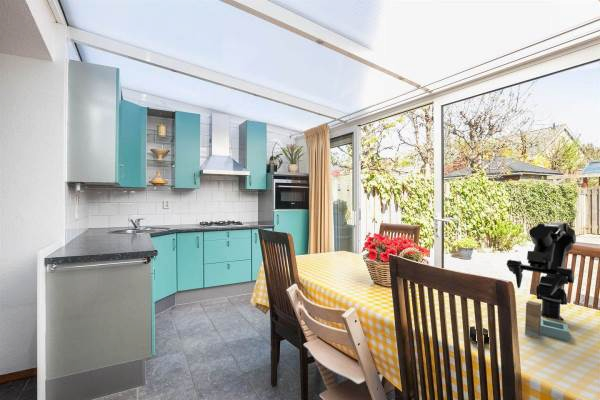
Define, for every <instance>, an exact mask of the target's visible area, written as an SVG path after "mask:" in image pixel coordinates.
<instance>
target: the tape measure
mask: <svg viewBox="0 0 600 400" xmlns="http://www.w3.org/2000/svg"><path fill="white" fill-rule="evenodd" d="M475 326H476V325H475ZM475 326H469V327H470V337H469V339H471V341H472V342H473V343H475V344H478V343H477V341H476V329H475ZM488 330H489V329H487V328H485V327H483V335H484V343H485V344H486V345H487V344H490V343H489V337H488ZM485 344H484V345H485Z"/></svg>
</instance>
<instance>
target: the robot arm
mask: <svg viewBox="0 0 600 400" xmlns="http://www.w3.org/2000/svg"><path fill="white" fill-rule="evenodd" d="M528 231H529V232H528V233H529V237H530V239H531V241H532V244H533V245H534V246H533V247H534V248H533V250H527V253H526V254H527V255H526V260H527V263H528V264H523V263H522V261H521V260H519V259H514V258H509V259H507V260H506V266H507V268H508V270H509V272H511V273H512V274H513V275H514V276H515V278H516V279H515V281H516V286H517V289H520V287H521V284H522V281H523V272H524V271H528V272H533V273H540V274H545V275H542V276H540V280H539V283H538V284H537V285H536V288H535V289H536V291H535V292H536V300H541V317H543V318H548V319H553V320H554V319H555V320H559V321H560V320H561V321H564V318H563V317H562V316H561V305H562V306H565V305H566V306H567V305H568V296H567V293H566V291H565V287H564V285H568V284H574V283H575V274H574V270H573V269H572V268H569V267H564V265H565V261H566V255H567V253H568V252H569V251H571V250H572V249H573V246H574V244H576V242H577V235H576V231H575V230H574V229H572V228H571V227H570V226H569V224H568V222H565V221H551V223H549V224H545V223H537V225H536V226H533V227H531V228H530V229H529V230H528Z"/></svg>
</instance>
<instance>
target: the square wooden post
mask: <svg viewBox="0 0 600 400" xmlns="http://www.w3.org/2000/svg"><path fill="white" fill-rule="evenodd" d="M541 311H542V302H537V301H533V300H528V301H526V302H525V323H524V324H525V327H524V335H527V336H530V337H532V338H533V337H534V338H537V339H538V338H539V337H540V336H541V334H540V327H541V319H542V315H541Z"/></svg>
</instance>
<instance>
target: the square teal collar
mask: <svg viewBox="0 0 600 400" xmlns="http://www.w3.org/2000/svg"><path fill="white" fill-rule="evenodd" d="M540 335H544V336H548V337H551V338H554V339H555V338H556V339H559V340H564V341H568V342H569V341H570V330H569V326H568V323H562V322H559V321H558V322H557V321H553V320H548V319H543V318H541V327H540Z"/></svg>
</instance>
